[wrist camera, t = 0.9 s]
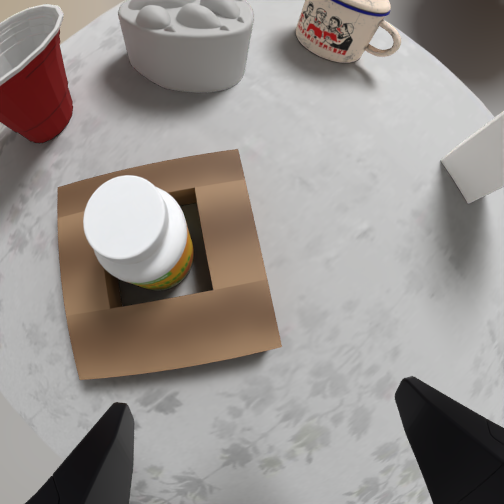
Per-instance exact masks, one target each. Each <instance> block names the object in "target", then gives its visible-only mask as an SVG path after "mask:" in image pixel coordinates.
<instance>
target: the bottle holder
mask: <svg viewBox="0 0 504 504" xmlns="http://www.w3.org/2000/svg"><path fill="white" fill-rule="evenodd" d="M125 175H132V176H138V177H141V178H144V179H146V180H147V181H149V182H151V183H152V184H153V185H154V186H155V187H157V188H159V189H161V190H163V191H165V192H167V193H168V194H169V195H171V196H172V197H173V198H174V199H175V200H176V202H177V203H178V204H179V206H181V205H187V204H192V203H197V207H198V212H199V218H200V224H201V229H202V235H203V241H204V246H205V251H206V257H207V262H208V267H209V272H210V277H211V282H212V287H213V290H211V291H206V292H201V293H195V294H190V295H185V296H179V297H174V298H169V299H163V300H158V301H152V302H146V303H141V304H135V305H129V306H122V301H121V295H120V288H119V282H118V278H116V277H115V276H113V275H111V274H110V273H109V272H108V271H106V270H105V269H104V268H103V266H102V265H101V264H100V262H99V261H98V259H97V257H96V255H95V252H94V249H93V248H92V247H91V245H90V244H89V242H88V240H87V238H86V235H85V232H84V225H83V219H84V212H85V208H86V206H87V203H88V201H89V199H90V198H91V196H92V194H93V193H94V192H95V191H96V190H97V189H98V188H99V187H100V186H101V185H102V184H104V183H105V182H107V181H109V180H111V179H113V178H116V177H119V176H125ZM57 213H58V245H59V260H60V272H61V282H62V290H63V298H64V305H65V312H66V318H67V324H68V330H69V335H70V340H71V345H72V350H73V354H74V359H75V363H76V367H77V371H78V375H79V379H80V380H86V379H98V378H109V377H118V376H127V375H136V374H144V373H151V372H158V371H165V370H171V369H178V368H184V367H190V366H195V365H201V364H206V363H212V362H217V361H222V360H227V359H232V358H236V357H241V356H245V355H250V354H254V353H259V352H263V351H267V350H271V349H275V348H279V347H282V345H281V340H280V336H279V331H278V326H277V322H276V317H275V312H274V308H273V303H272V299H271V294H270V289H269V285H268V280H267V276H266V271H265V267H264V262H263V258H262V253H261V249H260V244H259V240H258V235H257V231H256V226H255V222H254V217H253V213H252V208H251V204H250V199H249V195H248V191H247V186H246V182H245V177H244V173H243V169H242V164H241V160H240V155H239V151H238V149H235V150H227V151H220V152H214V153H207V154H201V155H195V156H189V157H183V158H178V159H172V160H167V161H162V162H157V163H152V164H147V165H143V166H138V167H134V168H129V169H125V170H121V171H116V172H112V173H108V174H104V175H100V176H96V177H93V178H89V179H85V180H82V181H78V182H75V183H71V184H68V185H64V186H61V187H58V204H57Z"/></svg>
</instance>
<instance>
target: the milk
mask: <svg viewBox="0 0 504 504" xmlns="http://www.w3.org/2000/svg"><path fill="white" fill-rule="evenodd" d="M441 162H442V163H443V165H444V166H445V168H446V169H447V171H448V172H449V174H450V175H451V177H452V178H453V180H454V182H455V183H456V185H457V186H458V188H459V190H460V191H461V193H462V194H463V196H464V198H465V199H466V201H467V203H468V204H469V203H471V202H474V201H476V200H478V199H480V198H482V197H484V196H486V195H488V194H490V193H492V192H494V191H496V190H498V189H500V188H502V187H504V111H503V112H501V113H500V114H499V115H497V116H496V117H495V118H493V119H492V120H491V121H489V122H488V123H487V124H485V125H484V126H483V127H481V128H480V129H479V130H477V131H476V132H475V133H473V134H472V135H471V136H469V137H468V138H467V139H465V140H464V141H462V142H461V143H460V144H459V145H457V146H456V147H455V148H454V149H453V150H452V151H451V152H449V153H448V154H447V155H446V156H445V157H444V158H442V159H441Z"/></svg>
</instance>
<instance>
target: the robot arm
mask: <svg viewBox="0 0 504 504" xmlns="http://www.w3.org/2000/svg"><path fill="white" fill-rule="evenodd" d="M395 401H396V404H397V407H398V410H399V414H400V417H401V420H402V424H403V427H404V430H405V433H406V436H407V438H408V440H409V443H410V445H411V448H412V450H413V452H414V455H415V457H416V460H417V462H418V465H419V467H420V470H421V472H422V475H423V478H424V480H425V483H426V485H427V488H428V491H429V493H430V496H431V499H432V502H433V504H504V428H503V427H501V426H499V425H497V424H495V423H493V422H492V421H490V420H488V419H486V418H484V417H483V416H481V415H479V414H477V413H476V412H474V411H472V410H470V409H469V408H467V407H465V406H463V405H462V404H460V403H458V402H457V401H455V400H453V399H451V398H450V397H448V396H446V395H444V394H443V393H441V392H439V391H438V390H436V389H434V388H433V387H431V386H429V385H427V384H426V383H424V382H422V381H421V380H419V379H417V378H416V377H413V376H410V377H407V378H404V379H402V381H401V383H400V385H399V387H398V389H397V391H396V393H395ZM133 456H134V419H133V416H132V414H131V411H130V409H129V406H128V405H127V404H126V403H118V402H115V403H113V404H112V405H111V407H110V408H109V409H108V410H107V411H106V412H105V414H104V415H103V416H102V417H101V418H100V419H99V421H98V422H97V423H96V424H95V425H94V426H93V428H92V429H91V430H90V431H89V432H88V433H87V435H86V436H85V437H84V438H83V439H82V441H81V442H80V443H79V444H78V445H77V446H76V448H75V449H74V450H73V451H72V452H71V453H70V455H69V456H68V457H67V458H66V459H65V460H64V462H63V463H62V464H61V465H60V466H59V468H58V469H57V470H56V471H55V472H54V473H53V476H51V477H50V478H49V479H48V481H47V482H46V483H45V484H44V485H43V486H42V487H41V488H40V489H39V490H38V492H37V493H36V494H35V495H34V496H32V497H31V498H30V499H29V500H28V501H27V502H26V503H25V504H129V497H130V488H131V480H132V473H133Z"/></svg>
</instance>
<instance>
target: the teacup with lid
mask: <svg viewBox="0 0 504 504" xmlns="http://www.w3.org/2000/svg"><path fill="white" fill-rule="evenodd" d="M390 8H391V6H390V3H389V0H305V3H304V6H303V9H302V12H301V15H300V18H299V21H298V24H297V27H296V36H297V38H298V40H299V41H300V43H301V44H302V45H303V46H304V47H306V48H307V49H308V50H309V51H311V52H313V53H314V54H316V55H318V56H320V57H322V58H325V59H328V60H331V61H335V62H341V63H349V62H354V61H356V60H358V59H359V58H360V57H361V56H362V54H363V52H364V51H365V50H366V51H367V52H369V53H371V54H373V55H375V56H379V57H386V56H389V55H392V54H393V53H395V52H396V51H397V50H398V49H399V47H400V45H401V38H400V35H399V33H398V31H397V30H396V29H395V28H394V27H393V26H392V25H390V24H389V23H387V22H386V21H384V20H383V19H384V17H385V16H386V15H388V14H389V13H390ZM379 26H380V27H382V28H384V29H385V30H386V31H388V32H389V33H390V34H391V36H392V38H393V41H394V43H393V46H392V48H390V49H387V50H380V49H377V48H375V47H373V46H371V45H370V44H369V42H370V41H371V39H372V37H373V35H374V34H375V32H376V30H377V29H378V27H379Z"/></svg>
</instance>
